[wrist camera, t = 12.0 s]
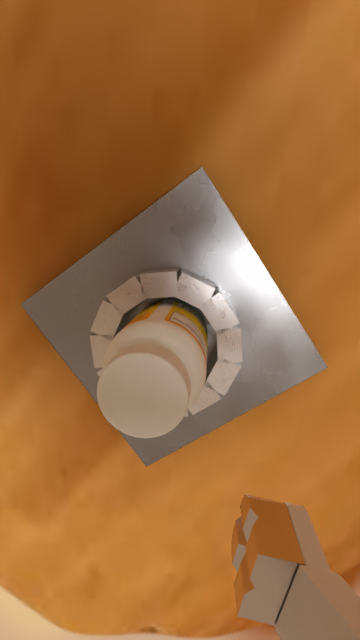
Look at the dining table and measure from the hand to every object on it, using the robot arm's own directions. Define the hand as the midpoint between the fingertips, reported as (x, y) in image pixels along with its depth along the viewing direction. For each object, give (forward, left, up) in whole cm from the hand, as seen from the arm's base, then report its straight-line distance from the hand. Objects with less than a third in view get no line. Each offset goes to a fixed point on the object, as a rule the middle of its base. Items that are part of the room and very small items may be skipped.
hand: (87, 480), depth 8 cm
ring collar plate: (+1, 0, -16) cm, 16 cm away
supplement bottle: (0, 0, -15) cm, 15 cm away
